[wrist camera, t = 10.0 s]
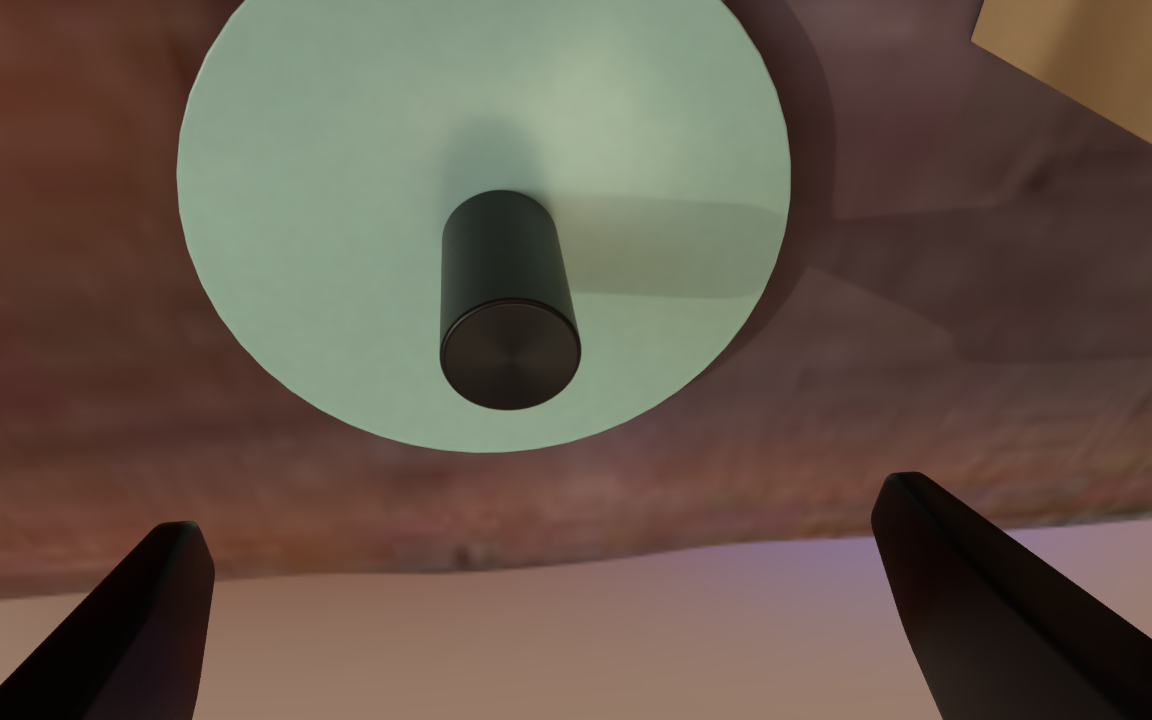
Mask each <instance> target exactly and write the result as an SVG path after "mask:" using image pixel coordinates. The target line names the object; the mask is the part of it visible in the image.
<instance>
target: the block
mask: <svg viewBox="0 0 1152 720" xmlns="http://www.w3.org/2000/svg"><path fill="white" fill-rule="evenodd" d="M971 42H973V43H975V44H976V45H978V46H980V47H982V48H983V49H985V50H987V51H989V52H990V53H992V54H994V55H996V56H998V57H999V58H1001V59H1003V60H1005V61H1006V62H1008V63H1010V64H1012V65H1013V66H1015V67H1017V68H1019V69H1020V70H1022V71H1024V72H1026V73H1027V74H1029V75H1031V76H1033V77H1034V78H1036V79H1038V80H1040V81H1041V82H1043V83H1045V84H1047V85H1048V86H1050V87H1052V88H1054V89H1055V90H1057V91H1059V92H1061V93H1062V94H1064V95H1066V96H1068V97H1070V98H1071V99H1073V100H1075V101H1077V102H1078V103H1080V104H1082V105H1084V106H1085V107H1087V108H1089V109H1091V110H1092V111H1094V112H1096V113H1098V114H1099V115H1101V116H1103V117H1105V118H1106V119H1108V120H1110V121H1112V122H1113V123H1115V124H1117V125H1119V126H1120V127H1122V128H1124V129H1126V130H1127V131H1129V132H1131V133H1133V134H1134V135H1136V136H1138V137H1140V138H1141V139H1143V140H1145V141H1147V142H1149V143H1150V144H1152V0H984V3H983V6H982V9H981V12H980V15H979V17H978V20H977V23H976V26H975V29H974V32H973V35H972V38H971Z"/></svg>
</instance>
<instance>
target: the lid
mask: <svg viewBox="0 0 1152 720" xmlns="http://www.w3.org/2000/svg"><path fill="white" fill-rule="evenodd" d="M176 175H177V188H178V201H179V213H180V217H181V221H182V226H183V230H184V234H185V239H186V243H187V247H188V251H189V253H190V256H191V258H192V261H193V263H194V266H195V269H196V271H197V274H198V276H199V279H200V281H201V284H202V286H203V288H204V289H205V291H206V293H207V295H208V296H209V298H210V300H211V302H212V304H213V305H214V307H215V309H216V311H217V312H218V314H219V316H220V317H221V319H222V320H223V321H224V323H225V324H226V325H227V327H228V328H229V329H230V331H231V332H232V333H233V335H234V336H235V337H236V339H237V340H238V341H239V343H240V344H241V345H242V346H243V347H244V348H245V349H246V350H247V351H248V352H249V353H250V354H251V355H252V357H253V358H254V359H255V360H256V361H257V362H258V363H259V364H260V365H261V366H262V367H263V368H264V369H265V370H266V371H268V372H269V373H270V374H271V375H272V376H274V377H275V378H276V379H277V380H278V381H280V382H281V383H282V384H283V385H285V386H286V387H287V388H288V389H289V390H291V391H292V392H294V393H295V394H297V395H298V396H300V397H301V398H303V399H304V400H306V401H307V402H309V403H311V404H312V405H314V406H315V407H317V408H318V409H320V410H322V411H324V412H326V413H328V414H330V415H332V416H334V417H336V418H338V419H340V420H342V421H344V422H345V423H347V424H350V425H352V426H355V427H357V428H360V429H363V430H365V431H368V432H370V433H373V434H376V435H378V436H381V437H385V438H388V439H392V440H396V441H399V442H403V443H407V444H410V445H416V446H421V447H427V448H433V449H439V450H447V451H459V452H472V453H486V452H512V451H522V450H531V449H539V448H544V447H548V446H553V445H558V444H563V443H568V442H571V441H575V440H578V439H581V438H584V437H588V436H591V435H594V434H598V433H600V432H603V431H605V430H607V429H610V428H612V427H615V426H617V425H620V424H622V423H624V422H627V421H629V420H630V419H632V418H634V417H636V416H638V415H640V414H642V413H644V412H646V411H647V410H649V409H651V408H653V407H655V406H656V405H658V404H659V403H661V402H662V401H664V400H665V399H667V398H668V397H670V396H671V395H673V394H674V393H676V392H677V391H679V390H680V389H681V388H683V387H684V386H685V385H686V384H687V383H689V382H690V381H691V380H692V379H693V378H695V377H696V376H697V375H698V374H700V373H701V372H702V371H703V370H704V369H705V368H706V367H707V366H708V365H709V364H710V363H711V362H712V361H713V360H714V359H715V358H716V357H717V356H718V355H719V354H720V353H721V352H722V351H723V350H724V349H725V348H726V346H727V345H728V344H729V343H730V341H731V340H732V339H733V337H734V336H735V335H736V334H737V332H738V331H739V330H740V328H741V327H742V326H743V325H744V323H745V322H746V320H747V319H748V317H749V315H750V314H751V312H752V310H753V309H754V307H755V305H756V304H757V302H758V300H759V299H760V297H761V295H762V293H763V291H764V289H765V287H766V284H767V282H768V280H769V278H770V275H771V273H772V271H773V269H774V267H775V264H776V261H777V257H778V254H779V251H780V247H781V244H782V241H783V237H784V234H785V229H786V223H787V216H788V210H789V204H790V193H791V158H790V150H789V142H788V134H787V126H786V123H785V119H784V115H783V112H782V108H781V104H780V101H779V97H778V94H777V90H776V88H775V86H774V83H773V81H772V79H771V77H770V74H769V72H768V70H767V68H766V65H765V63H764V61H763V59H762V56H761V54H760V52H759V51H758V49H757V48H756V46H755V45H754V43H753V42H752V40H751V38H750V37H749V35H748V34H747V32H746V31H745V29H744V27H743V26H742V24H741V23H740V21H739V20H738V18H737V17H736V16H735V15H734V14H733V13H732V12H731V10H730V9H729V8H728V7H727V6H726V5H725V4H724V2H723V1H722V0H244V1H243V3H242V4H241V5H240V6H239V7H238V8H237V9H236V10H235V12H234V13H233V14H232V15H231V17H230V18H229V20H228V21H227V23H226V24H225V26H224V27H223V29H222V31H221V32H220V34H219V35H218V37H217V38H216V40H215V41H214V43H213V45H212V46H211V48H210V49H209V51H208V52H207V54H206V56H205V59H204V61H203V63H202V65H201V68H200V70H199V72H198V75H197V77H196V79H195V82H194V84H193V86H192V89H191V91H190V93H189V97H188V102H187V106H186V110H185V114H184V118H183V122H182V126H181V130H180V135H179V147H178V159H177V172H176Z"/></svg>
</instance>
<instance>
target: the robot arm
mask: <svg viewBox="0 0 1152 720" xmlns="http://www.w3.org/2000/svg"><path fill="white" fill-rule="evenodd" d="M871 524H872V530H873V533H874V536H875V540H876V543H877V546H878V549H879V552H880V555H881V559H882V562H883V565H884V568H885V571H886V574H887V578H888V581H889V584H890V587H891V591H892V594H893V597H894V600H895V603H896V607H897V610H898V613H899V616H900V619H901V622H902V625H903V627H904V630H905V633H906V635H907V638H908V640H909V643H910V645H911V647H912V650H913V652H914V654H915V657H916V659H917V661H918V664H919V666H920V668H921V670H922V673H923V675H924V677H925V680H926V682H927V684H928V686H929V689H930V691H931V694H932V696H933V698H934V700H935V703H936V705H937V707H938V710H939V712H940V714H941V716H942V719H943V720H1152V639H1151V638H1150V637H1148V636H1147V635H1146V634H1144V633H1143V632H1141V631H1140V630H1139V629H1137V628H1136V627H1134V626H1133V625H1132V624H1130V623H1129V622H1127V621H1126V620H1125V619H1123V618H1122V617H1121V616H1119V615H1118V614H1116V613H1115V612H1114V611H1112V610H1111V609H1109V608H1108V607H1107V606H1105V605H1104V604H1103V603H1101V602H1100V601H1099V600H1097V599H1096V598H1094V597H1093V596H1092V595H1090V594H1089V593H1087V592H1086V591H1085V590H1083V589H1082V588H1081V587H1079V586H1078V585H1076V584H1075V583H1074V582H1072V581H1071V580H1069V579H1068V578H1067V577H1065V576H1064V575H1063V574H1061V573H1060V572H1058V571H1057V570H1056V569H1054V568H1053V567H1052V566H1050V565H1049V564H1047V563H1046V562H1045V561H1043V560H1042V559H1040V558H1039V557H1038V556H1036V555H1035V554H1034V553H1032V552H1031V551H1029V550H1028V549H1027V548H1025V547H1024V546H1022V545H1021V544H1020V543H1018V542H1017V541H1016V540H1014V539H1013V538H1011V537H1010V536H1009V535H1007V534H1006V533H1004V532H1003V531H1002V530H1000V529H999V528H998V527H996V526H995V525H993V524H992V523H991V522H989V521H988V520H987V519H985V518H984V517H982V516H981V515H980V514H978V513H977V512H975V511H974V510H973V509H971V508H970V507H969V506H967V505H966V504H964V503H963V502H962V501H960V500H959V499H957V498H956V497H955V496H953V495H952V494H951V493H949V492H948V491H946V490H945V489H944V488H942V487H941V486H940V485H938V484H937V483H935V482H934V481H933V480H931V479H930V478H928V477H927V476H926V475H924V474H922V473H920V472H899V473H892V474H890V475H889V476H888V477H886V479H885V481H884V484H883V486H882V489H881V491H880V493H879V496H878V498H877V501H876V503H875V506H874V508H873V511H872V515H871ZM214 579H215V570H214V563H213V560H212V557H211V555H210V552H209V550H208V547H207V545H206V542H205V540H204V537H203V535H202V532H201V530H200V528H199V526H198V525H197V524H196V523H195V522H193V521H179V522H166V523H161V524H159V525H158V526H156V527H155V528H154V529H152V531H151V532H150V533H149V534H148V535H147V536H146V537H145V538H144V539H143V540H142V541H141V542H140V543H139V544H138V545H137V546H136V547H135V548H134V549H133V550H132V551H131V552H130V553H129V554H128V555H127V556H126V557H125V558H124V559H123V560H122V561H121V562H120V563H119V564H118V565H117V566H116V567H115V568H114V569H113V570H112V571H111V573H110V574H109V575H108V576H107V577H106V578H105V579H104V580H103V581H102V582H101V583H100V584H99V585H98V586H97V587H96V588H95V589H94V590H93V591H92V592H91V593H90V594H89V595H88V596H87V597H86V598H85V599H84V600H83V601H82V602H81V604H79V605H78V606H77V607H76V608H75V609H74V610H73V612H71V613H70V615H69V616H68V617H67V618H66V619H65V620H64V621H63V622H62V623H61V624H60V625H59V626H58V627H57V628H56V629H55V630H54V631H53V632H52V633H51V634H50V635H49V636H48V637H47V638H46V639H45V640H44V641H43V642H42V643H41V644H40V645H39V646H38V647H37V648H36V649H35V650H34V651H33V653H32V654H31V655H30V656H29V657H28V658H27V659H26V660H25V661H24V662H23V663H22V664H21V665H20V666H19V667H18V668H17V669H16V670H15V671H14V672H13V673H12V674H11V675H10V676H9V677H8V678H7V679H6V680H5V681H4V682H3V683H2V684H1V685H0V720H192V717H193V713H194V709H195V705H196V700H197V695H198V689H199V684H200V678H201V671H202V663H203V656H204V650H205V643H206V636H207V629H208V621H209V615H210V607H211V601H212V593H213V587H214Z"/></svg>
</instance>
